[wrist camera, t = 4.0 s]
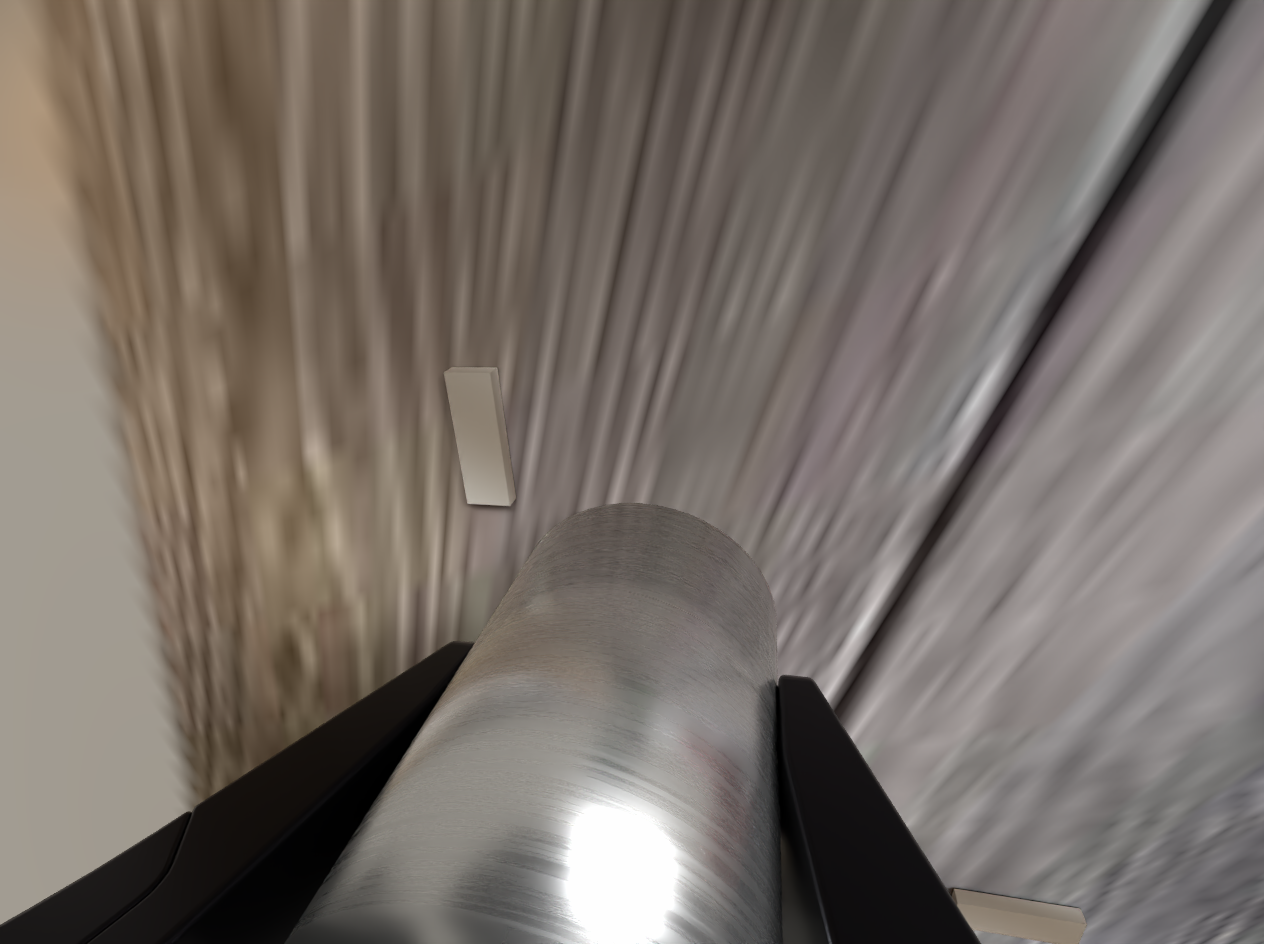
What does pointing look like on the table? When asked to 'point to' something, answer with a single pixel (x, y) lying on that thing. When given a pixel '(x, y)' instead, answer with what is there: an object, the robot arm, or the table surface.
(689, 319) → the table surface
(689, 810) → the pin
